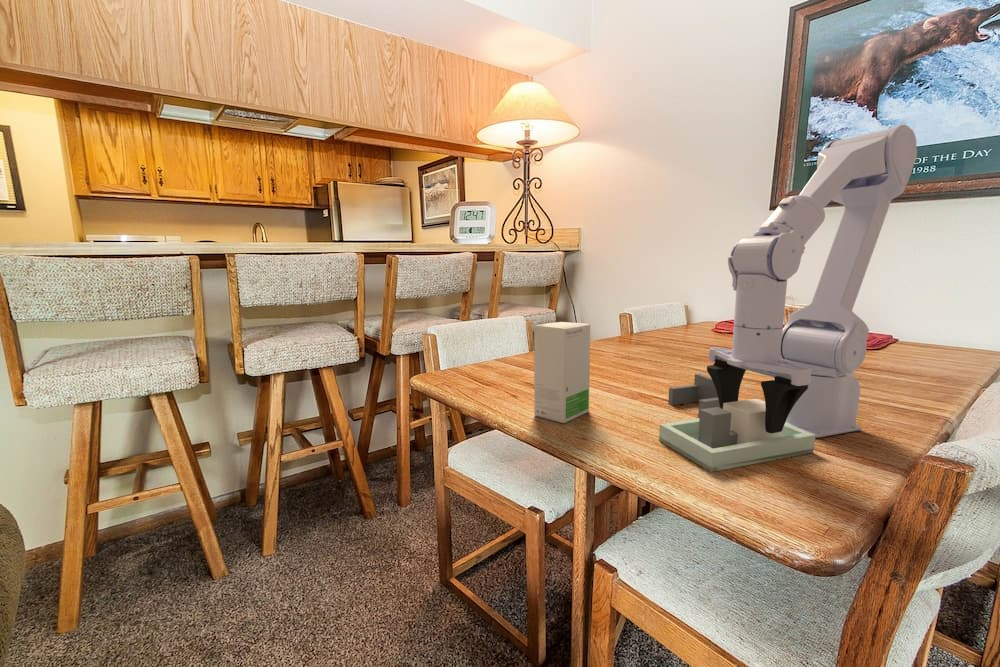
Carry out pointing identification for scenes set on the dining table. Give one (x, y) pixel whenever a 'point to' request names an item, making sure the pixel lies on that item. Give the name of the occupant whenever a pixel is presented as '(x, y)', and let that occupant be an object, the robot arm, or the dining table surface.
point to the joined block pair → (734, 424)
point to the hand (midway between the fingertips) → (749, 421)
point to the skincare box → (561, 370)
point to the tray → (734, 446)
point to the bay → (696, 393)
